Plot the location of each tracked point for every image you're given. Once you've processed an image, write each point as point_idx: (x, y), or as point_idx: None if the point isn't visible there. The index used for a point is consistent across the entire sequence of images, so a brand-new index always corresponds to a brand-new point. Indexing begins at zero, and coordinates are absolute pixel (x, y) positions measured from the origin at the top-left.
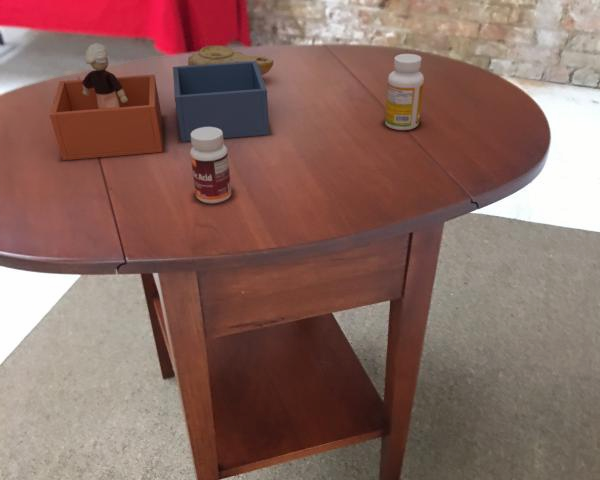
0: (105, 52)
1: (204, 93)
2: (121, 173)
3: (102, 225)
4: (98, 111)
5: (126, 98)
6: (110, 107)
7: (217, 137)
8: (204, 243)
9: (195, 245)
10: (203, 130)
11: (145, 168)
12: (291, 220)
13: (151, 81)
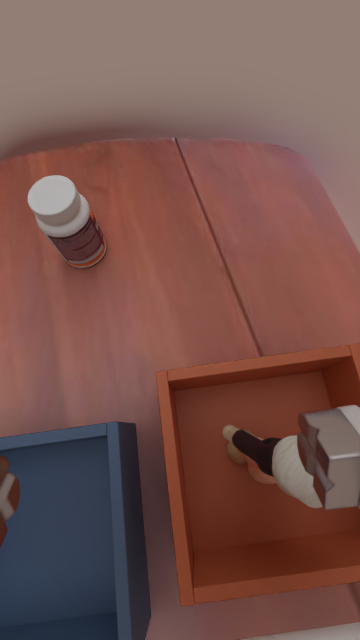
0: (276, 459)
1: (54, 439)
2: (217, 314)
3: (212, 191)
4: (265, 356)
5: (224, 430)
6: (263, 439)
7: (36, 182)
8: (98, 160)
9: (107, 157)
10: (55, 202)
11: (184, 328)
12: (2, 197)
13: (181, 541)
